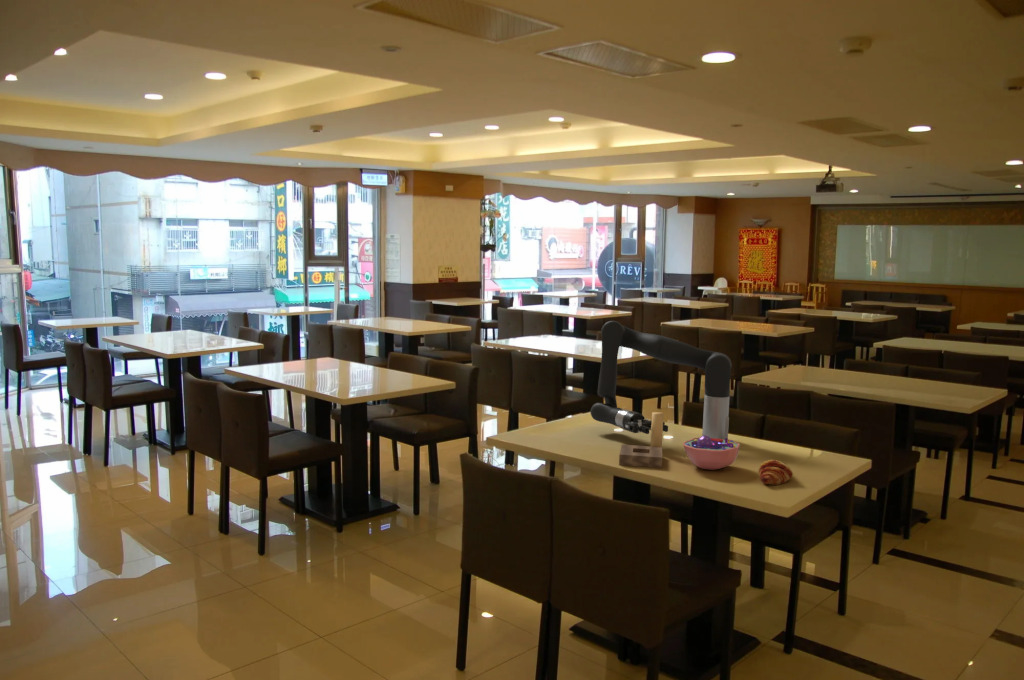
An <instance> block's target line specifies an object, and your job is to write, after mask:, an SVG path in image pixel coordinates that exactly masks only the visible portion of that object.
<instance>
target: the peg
mask: <svg viewBox="0 0 1024 680" xmlns="http://www.w3.org/2000/svg"><path fill="white" fill-rule="evenodd" d="M651 420H652V425H651V430H650V431H651V432H650V446H651V447H662V448H663V432H664V431H663V422H664V412H661V411H660V412H659V411H652V413H651Z"/></svg>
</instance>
